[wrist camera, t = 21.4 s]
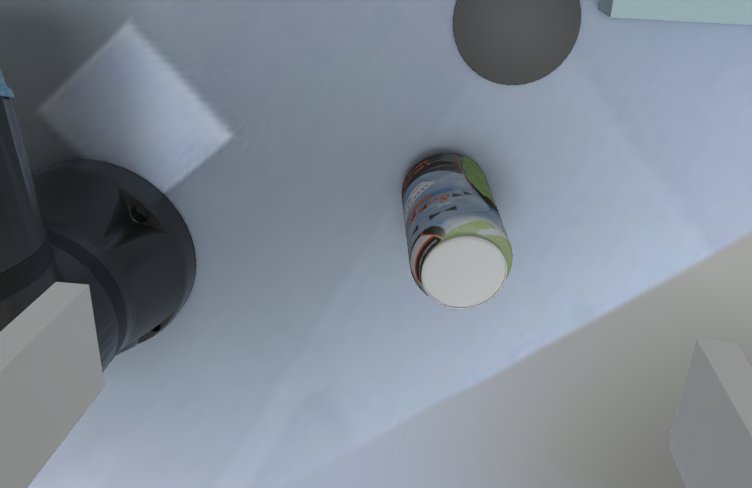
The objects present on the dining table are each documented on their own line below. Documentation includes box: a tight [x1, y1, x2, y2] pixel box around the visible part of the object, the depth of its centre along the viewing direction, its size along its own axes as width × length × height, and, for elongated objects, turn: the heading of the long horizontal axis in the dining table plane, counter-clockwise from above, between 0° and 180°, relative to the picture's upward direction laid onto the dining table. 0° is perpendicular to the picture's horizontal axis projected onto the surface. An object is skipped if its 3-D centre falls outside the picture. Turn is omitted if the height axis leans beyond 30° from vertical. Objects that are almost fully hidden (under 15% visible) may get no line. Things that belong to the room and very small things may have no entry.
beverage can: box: [402, 153, 512, 309], centre depth 45 cm, size 6×7×12 cm
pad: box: [453, 0, 581, 85], centre depth 45 cm, size 8×8×1 cm
